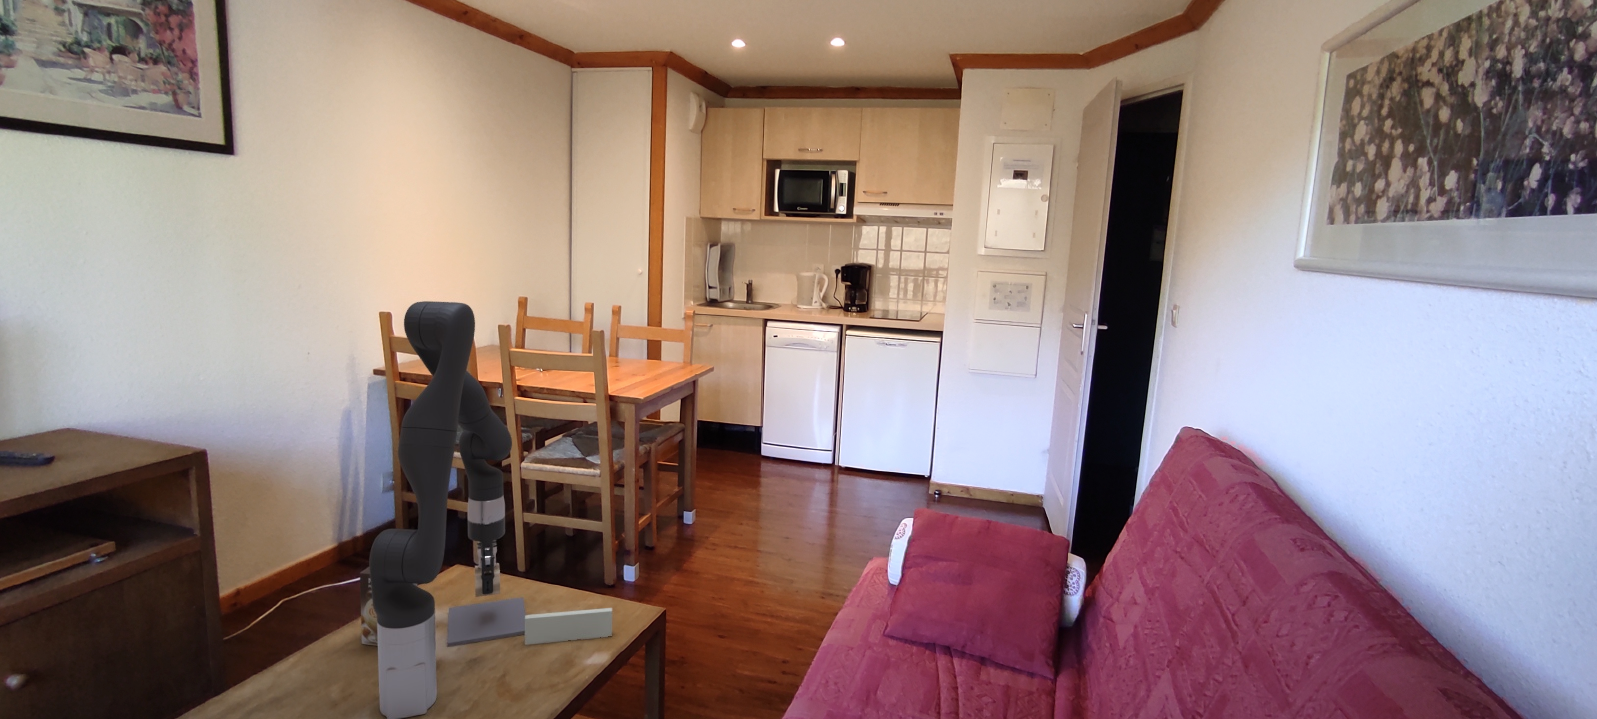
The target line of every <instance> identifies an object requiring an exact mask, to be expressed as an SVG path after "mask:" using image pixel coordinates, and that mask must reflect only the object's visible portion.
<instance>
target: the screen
mask: <svg viewBox="0 0 1597 719" xmlns="http://www.w3.org/2000/svg"><path fill="white" fill-rule="evenodd" d="M608 636H613V607H605V608H595V609H594V608H593V609H582V610H572V611H570V610H569V611H559V612H558V611H557V612H549V613H547V612H546V613H536V614H526V615H525V634H524V645H525V646H527V645H536V644H537V645H538V644H548V643H560V642H568V640H571V641H578V640H577V639H581V640H589V639H591V640H592V639H601V638H609V637H608ZM600 637H601V638H600Z"/></svg>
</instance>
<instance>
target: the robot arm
mask: <svg viewBox="0 0 1597 719" xmlns="http://www.w3.org/2000/svg"><path fill="white" fill-rule="evenodd" d="M475 318H476V317H475V313H474V311H473V309H472V308H471V306H470V305H468V304H467V303H463V302H455V301H453V302H452V301H432V300H430V301H429V300H427V301H423V300H422V301H417V302H414V303H412V304H411V305H410V306H409V307H408V308H407V310H406V311H405V314H404V317H403V328H404V333H405V336H406V339H407V340H408V343H409V344H410V345H411V347H412V349H413V350H414V352H415V353H416V354H417V356H418V357H419V359H420V361H421V362H422V363H423V364H424V366H425V368H426V369H427V370H428V372H429V373H430V374H431V376H432V378H431V379H430V381H429V383H428V384H427V385H426V386H425V388H424V389H423V390H422V392H421V393H420V394H419V395H418V396H417V397H416V399H415V400H414V401H413V403H411V405H410V407H409V408H408V409H407V410H406V411H405V413H404V416H403V418H402V422H401V428H400V435H399V440H398V441H399V442H398V448H397V455H398V456H397V457H398V461H399V464H400V466H401V469H402V471H403V473H404V475H405V477H406V480H407V481H408V483H409V485H410V487H411V489H412V492H413V493H414V495H415V496H414V497H415V500H416V504H417V509H418V510H417V512H418V520H417V522H418V524H417V529H405V528H387V529H384V530H383V531H381V532H380V533H379V534H378V535H377V536H376V537H375V539H374V540H373V542H372V546H371V547H370V548H371V549H370V552H369V559H368V560H369V564H368V567H369V569H370V580H371V590H372V601H373V608H374V610H375V612H376V615H377V633H378V646H377V662H378V663H377V664H378V667H377V668H378V689H379V692H378V697H379V710H380V713H381V715H383V716H385V717H386V719H404V718H409V717H415V716H420V715H424V714H427V711H428V709H429V708H431V707H432V706H433V705H434V704H435V703H436V701H437V695H438V694H437V691H438V690H437V689H438V688H437V658H436V657H437V655H436V654H437V652H436V649H437V648H436V645H437V644H436V604H435V603H436V602H435V601H436V600H435V598H434V595H432V594H431V593H430V592H429V591H427V590H425V589H423V588H421V587H420V586H418V585H425V584H426V585H427V584H430V583H432V582H433V581H434V580H436V578H437V577H438V575H439V574H440V572H441V569H442V566H443V562H444V556H445V549H446V538H447V536H446V534H447V532H446V531H447V514H448V510H447V509H448V496H449V489H450V487H449V486H450V481H451V480H450V479H451V474H452V466H453V460H454V455H455V450H456V443H457V434H458V426H459V427H460V428H461V429H462V432H461V434H460V436H459V440H458V452H459V455H460V459H461V461H462V463H463V467H464V470H465V474H466V476H467V480H468V484H467V485H468V502H467V537H468V539H469V540H471V541H473V542H476V550H477V552H476V553H477V556H478V557H477V558H478V566H479V568H481V573H482V575H481V578H482V594H484V595H485V594H492V593H493V579H494V577H495V574H494V567H495V566H496V563H497V557H496V554H497V552H498V549H497V548H498V546H497V540H498V539H500V538H502V537H503V536H504V535H505V534H506V503H505V498H504V493H505V492H504V473H503V471H502V470H501V469H499V468H497V467H495V466H492V465H490V464H488V462H487V460H488V461H502V460H504V459H506V458H507V457H508V455H509V454H510V453H511V450H512V447H513V440H512V439H513V438H512V434H511V432H510V431H509V429H508V428H507V426H506V424H505V423H504V422H503V421H502V420H501V418H500V417H499V416H498V415H497V414H496V413H495V412H494V410H493V409H492V408H491V405H490V402H489V400H488V397H487V393H486V392H485V390H484V388H483V386H482V385H481V383H480V382H479V381H478V379H476V378H475V376H473V375H472V374H471V373H470V372H469V371H468V370H467V369H468V364H469V361H470V356H471V352H472V348H473V344H474V337H475V332H476V320H475ZM485 571H491V572H489V573H484V572H485ZM414 584H417V586H416V585H414Z"/></svg>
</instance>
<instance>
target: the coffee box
mask: <svg viewBox="0 0 1597 719" xmlns="http://www.w3.org/2000/svg"><path fill="white" fill-rule="evenodd" d="M359 585H360V586H359V587H360V589H359V590H360V591H359V594H360V621H361V624H360V628H361V630H360V631H361V633H360V634H361V644H362V645H369V646H376V647H378V633H377V615H376V612H375V610H374V608H373V601H372V590H371V580H370V569H369V566H368V567H366V568H365V569H364V570H362V571H360V572H359ZM414 585H416V586H417V587H418V584H414Z"/></svg>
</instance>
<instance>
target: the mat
mask: <svg viewBox="0 0 1597 719" xmlns="http://www.w3.org/2000/svg"><path fill="white" fill-rule="evenodd" d="M524 600H525V599H524V597H514V598H508V599H501V600H494V601H487V602H478V603H472V604H465V605H464V604H463V605H459V606H458V605H457V606H452V607H451V606H449V607H448V619H447V636H446V637H447V642H446V643H447V644H446V646H447V648H448V647H454V646H461V645H467V644H473V643H478V642H479V643H480V642H484V641H485V642H486V641H490V640H491V641H492V640H497V639H503V638H504V639H505V638H510V637H515V636H522V635H523V636H524V635H525V615H527V614H526V607H525V601H524Z"/></svg>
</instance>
